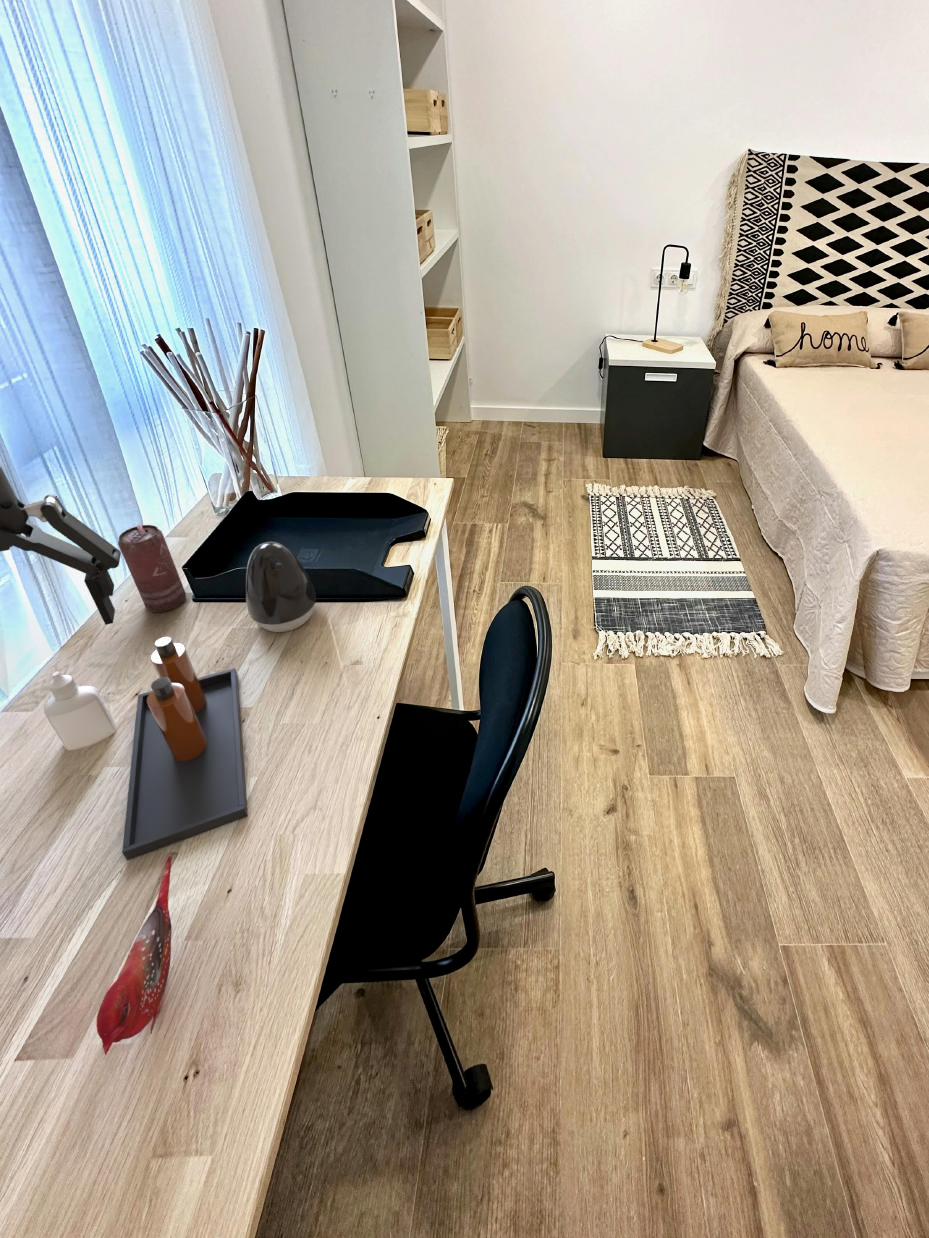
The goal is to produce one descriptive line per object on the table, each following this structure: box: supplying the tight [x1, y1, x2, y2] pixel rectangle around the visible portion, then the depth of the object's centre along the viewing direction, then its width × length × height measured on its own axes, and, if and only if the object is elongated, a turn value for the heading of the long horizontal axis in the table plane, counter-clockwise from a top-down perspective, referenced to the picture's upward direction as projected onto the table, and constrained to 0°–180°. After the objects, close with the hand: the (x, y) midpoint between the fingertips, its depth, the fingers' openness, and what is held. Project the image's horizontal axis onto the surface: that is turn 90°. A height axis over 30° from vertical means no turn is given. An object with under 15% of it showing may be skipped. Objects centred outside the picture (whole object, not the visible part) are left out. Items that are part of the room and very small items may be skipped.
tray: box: [121, 667, 249, 861], centre depth 82 cm, size 25×12×2 cm, turn 27°
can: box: [117, 524, 187, 613], centre depth 104 cm, size 6×6×14 cm
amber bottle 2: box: [147, 677, 207, 761], centre depth 79 cm, size 4×4×12 cm
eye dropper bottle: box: [43, 671, 117, 751], centre depth 81 cm, size 4×6×12 cm
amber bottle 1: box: [150, 636, 207, 714], centre depth 85 cm, size 4×4×12 cm
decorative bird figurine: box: [96, 855, 173, 1056], centre depth 58 cm, size 3×18×10 cm, turn 16°
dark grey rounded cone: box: [244, 541, 317, 633], centre depth 101 cm, size 10×10×15 cm
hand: (41, 633), depth 73 cm, fingers open, 13 cm apart
